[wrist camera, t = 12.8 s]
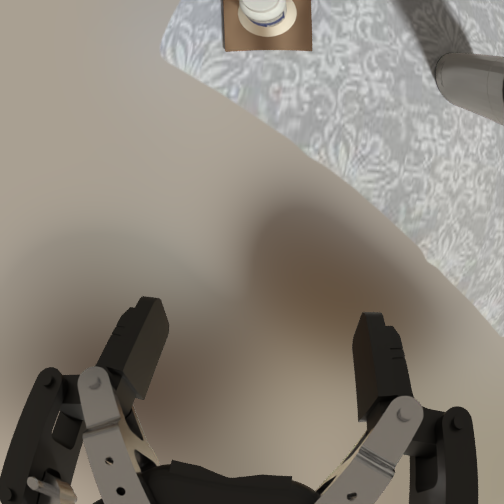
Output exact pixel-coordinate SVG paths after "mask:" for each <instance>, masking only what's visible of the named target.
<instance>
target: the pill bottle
mask: <svg viewBox="0 0 504 504" xmlns="http://www.w3.org/2000/svg"><path fill="white" fill-rule="evenodd" d="M239 5H240V8H241V10H242V12H243V13H244V14H245V15H246V16H247V17H248V18H249V20H250V21H251V22H253V23H254V24H255V25H257V26H260V27H274V26H276V25H278V24H280V23H281V22H282V21H283V20H284V19H285V16H286V12H287V9H286V0H239Z"/></svg>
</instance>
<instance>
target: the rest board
mask: <svg viewBox="0 0 504 504" xmlns="http://www.w3.org/2000/svg"><path fill="white" fill-rule="evenodd" d="M223 6H224V31H225V51H226V52H230V51H248V50H299V51H312V20H311V0H286V9H287V12H286V16H285V19H284V20H283V21H282V22H281V23H280V24H278V25H276V26H274V27H260V26H257V25H255V24H254V23H253V22H251V21H250V20H249V18H248V17H247V16H246V15H245V14H244V13H243V12H242V10H241V8H240V5H239V0H223Z"/></svg>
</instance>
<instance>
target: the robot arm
mask: <svg viewBox="0 0 504 504" xmlns="http://www.w3.org/2000/svg"><path fill="white" fill-rule="evenodd" d="M436 82H437V85H438V88H439V90H440V92H441V94H442V95H443V96H444V98H445V99H446V100H447V101H449V102H450V103H451V104H453V105H455V106H458V107H461V108H463V109H466V110H468V111H471V112H473V113H476V114H478V115H481V116H483V117H485V118H488V119H490V120H492V121H494V122H497V123H499V124H501V125H503V126H504V57H500V56H492V55H482V54H469V53H448V54H446V55H444V56H443V57H441V59H440V60H439V61H438V64H437V66H436ZM168 333H169V322H168V320H167V316H166V313H165V311H164V307H163V305H162V302H161V300H160V299H159V298H153V297H144V296H143V297H141V298H140V300H139V301H138V303H137V305H136V307H135V308H133V307H130V308H129V309H128V310H127V311H126V312H125V313H124V314H123V315H122V316H121V318H120V319H119V321H118V323H117V327H116V328H115V329H114V331H113V333H112V335H111V337H110V339H109V340H108V342H107V345H106V346H105V348H104V350H103V352H102V354H101V356H100V358H99V360H98V362H97V364H96V366H94V367H90V368H87V369H86V370H85V371H83V372H82V373H81V375H62V374H61V373H60V372H59V371H58V369H56V368H53V367H49V368H46V369H44V370H43V371H42V372H40V374H39V375H38V377H37V379H36V381H35V383H34V385H33V388H32V390H31V392H30V395H29V397H28V399H27V402H26V404H25V406H24V409H23V411H22V414H21V416H20V419H19V421H18V424H17V427H16V429H15V432H14V435H13V438H12V440H11V444H10V447H9V450H8V453H7V456H6V459H5V462H4V466H3V469H2V473H1V476H0V501H1V503H2V504H75V502H76V501H77V496H76V494H75V493H74V491H73V489H72V487H71V482H72V478H73V473H74V470H75V466H76V463H77V459H78V456H79V452H80V449H81V446H82V443H83V442H84V446H85V449H86V453H87V456H88V459H89V463H90V466H91V469H92V472H93V475H94V478H95V481H96V484H97V486H98V489H99V492H100V495H101V497H102V499H100V500H98V501H96V502H95V503H93V504H374V503H375V502H376V500H377V499H378V498H379V496H380V495H381V493H382V492H383V491H384V490H385V488H386V486H387V485H388V484H389V482H390V481H391V479H392V478H393V476H394V473H395V470H394V469H395V466H396V465H397V463H398V462H399V460H400V458H401V457H402V455H403V454H404V455H409V456H410V493H409V504H478V475H477V474H478V472H477V458H476V447H475V438H474V431H473V424H472V419H471V416H470V414H469V412H468V411H467V410H466V409H464V408H462V407H452V408H450V409H449V410H448V411H446V412H442V411H436V410H431V409H427V408H425V407H423V406H421V404H420V403H419V402H418V401H417V400H416V399H415V398H414V397H413V393H412V389H411V384H410V379H409V374H408V369H407V364H406V360H405V355H404V351H403V347H402V342H401V338H400V336H399V334H398V333H397V331H396V330H395V329H394V327H393V326H385V322H384V318H383V315H382V313H378V312H377V313H375V312H364V313H362V315H361V317H360V320H359V323H358V326H357V329H356V331H355V334H354V337H353V344H352V350H353V360H354V370H355V381H356V392H357V406H358V407H357V408H358V422H367V430H366V431H365V433H364V434H363V435H362V437H361V438H360V440H359V441H358V442H357V444H356V445H355V446H354V447H353V449H352V450H351V451H350V453H349V454H348V455H347V456H346V458H345V459H344V460H343V461H342V463H341V464H340V465H339V466H338V467H337V468H336V469H335V470H334V471H333V472H332V473H331V474H330V475H329V476H328V478H327V479H326V480H325V481H324V482H323V483H322V484H321V485H320V486H319V488H317V489H316V491H314V490H313V489H311V488H310V487H308V486H306V485H304V484H302V483H299V482H296V481H293V480H292V476H272V475H255V476H246V477H237V478H228V477H225V476H222V475H220V474H217V473H215V472H212V471H210V470H208V469H205V468H203V467H201V466H197V465H192V464H188V463H183V462H179V461H174V460H172V462H171V464H167V465H160V463H159V460H158V459H157V456H156V454H155V453H154V451H153V450H152V448H151V447H150V446H149V444H148V442H147V439H146V437H145V435H144V432H143V430H142V427H141V424H140V422H139V420H138V417H137V414H136V411H135V408H134V406H133V402H134V399H135V398H138V399H142V400H144V399H145V396H146V393H147V390H148V388H149V385H150V382H151V379H152V377H153V374H154V371H155V368H156V366H157V363H158V360H159V358H160V355H161V352H162V350H163V347H164V345H165V342H166V339H167V337H168ZM59 411H60V413H59ZM58 413H59V416H58V419H57V421H56V418H57V415H58ZM55 421H56V424H55V427H54V430H53V433H52V429H53V426H54V423H55Z"/></svg>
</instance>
